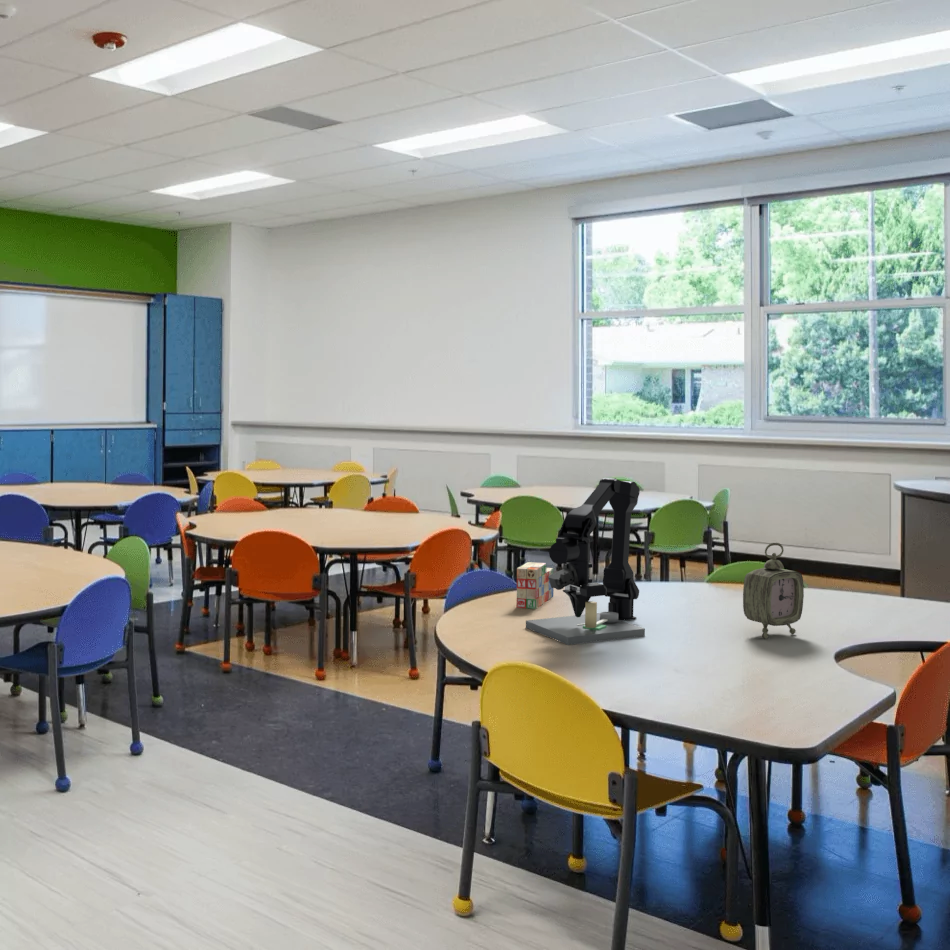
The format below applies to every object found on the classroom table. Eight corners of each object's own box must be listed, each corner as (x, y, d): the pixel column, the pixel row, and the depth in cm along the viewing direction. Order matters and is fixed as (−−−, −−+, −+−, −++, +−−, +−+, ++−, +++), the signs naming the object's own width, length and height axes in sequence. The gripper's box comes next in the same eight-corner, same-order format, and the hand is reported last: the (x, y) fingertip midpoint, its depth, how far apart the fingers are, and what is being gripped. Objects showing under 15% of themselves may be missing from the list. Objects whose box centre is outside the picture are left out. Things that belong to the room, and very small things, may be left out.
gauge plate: (598, 619, 292) (599, 611, 292) (644, 636, 273) (644, 626, 272) (525, 627, 282) (525, 618, 281) (567, 644, 262) (568, 635, 262)
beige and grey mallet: (604, 618, 284) (604, 592, 283) (621, 620, 281) (621, 594, 281) (579, 628, 270) (580, 602, 270) (597, 631, 268) (597, 604, 267)
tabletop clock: (765, 641, 268) (767, 546, 266) (739, 634, 275) (741, 542, 274) (802, 634, 275) (805, 542, 274) (776, 628, 283) (778, 538, 281)
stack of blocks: (534, 595, 329) (535, 557, 328) (553, 596, 327) (554, 558, 326) (516, 607, 309) (516, 567, 308) (536, 609, 307) (536, 568, 306)
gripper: (535, 556, 279) (534, 613, 280) (572, 566, 262) (571, 626, 263) (569, 553, 284) (568, 609, 285) (608, 563, 267) (607, 622, 268)
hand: (577, 616), depth 275 cm, fingers closed
